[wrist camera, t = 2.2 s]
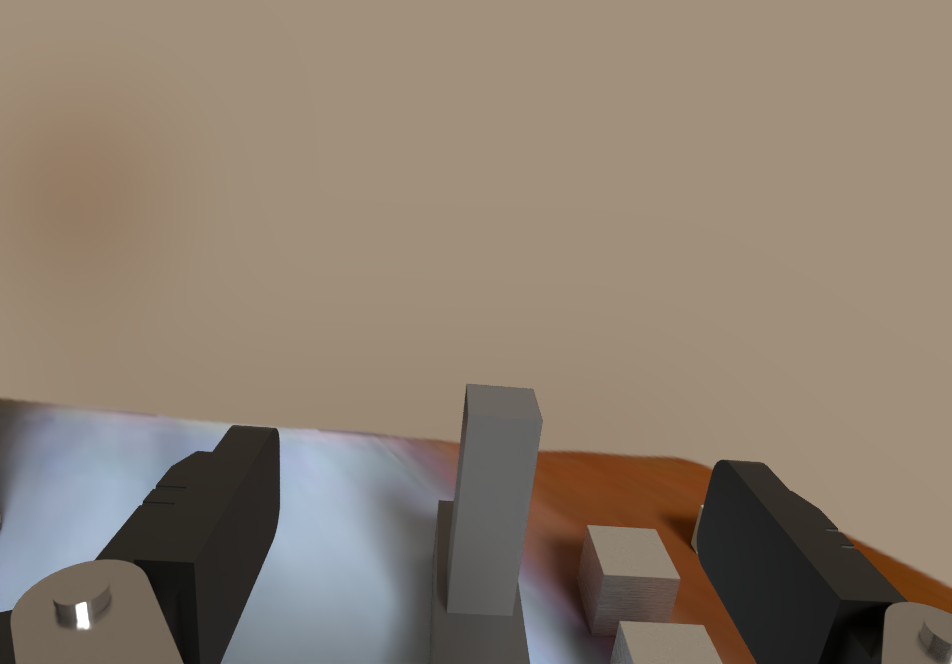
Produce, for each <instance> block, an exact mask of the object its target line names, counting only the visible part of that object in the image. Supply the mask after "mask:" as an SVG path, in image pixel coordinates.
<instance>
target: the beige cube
mask: <svg viewBox="0 0 952 664" xmlns="http://www.w3.org/2000/svg"><path fill="white" fill-rule="evenodd" d="M610 664H722V662H721V660H720V658H719V656H718V654H717V652H716V650H715V648H714V646H713V644H712V642H711V640H710V638H709V636H708V634H707V631H706V629H705V627H704V625H690V624H670V623H651V622H632V621H619V626H618V630H617V634H616V639H615V643H614V647H613V652H612V656H611V660H610Z"/></svg>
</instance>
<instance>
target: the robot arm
mask: <svg viewBox="0 0 952 664" xmlns="http://www.w3.org/2000/svg"><path fill="white" fill-rule="evenodd" d="M279 511H280V441H279V433H278V430H277V429H276V428H268V427H253V426H239V425H233V426H231V428H230V429H229V430H228V431H227V433H226V434H225V435H224V437H223V438H222V440H221V441H220V442H219V444H218V445H217V446H216V448H215V449H214V451H213V452H204V451H196V452H195V453H193V454H191V455H190V456H188V457H186V458H185V459H183V460H181V461H180V462H178V463H176V464H175V465H173V466H171V468H170V469H169V470H168V471H167V472H166V474H165V475H164V476H163V477H162V479H161V480H160V481H159V482H158V483H157V485H156V489H153V490H152V491H151V492H150V493H149V494H148V496H147V497H146V498H145V499H144V501H143V504H142V505H139V507H138V508H137V509H136V510H135V511H134V513H133V514H132V515H131V516H130V518H129V519H128V520H127V521H126V522H125V524H124V525H123V526H122V527H121V529H120V530H119V531H118V532H117V533H116V535H115V536H114V537H113V538H112V539H111V541H110V542H109V543H108V544H107V546H106V547H105V548H104V549H103V550H102V552H101V553H100V554H99V555H98V557H97V558H96V559H95V560H94V561H89V562H84V563H80V564H76V565H73V566H70V567H67V568H64V569H62V570H60V571H58V572H55V573H53V574H51V575H49V576H48V577H46V578H44V579H42V580H41V581H39V582H38V583H37V584H35V585H34V586H32V587H31V588H30V589H29V590H28V591H27V592H26V593H24V595H23V596H22V597H21V598H20V599H19V600H18V602H17V603H16V605H15V607H14V609H13V610H10V611H5V612H0V664H220V663H221V661H222V658H223V656H224V654H225V651H226V649H227V647H228V644H229V642H230V640H231V638H232V635H233V633H234V631H235V628H236V626H237V624H238V621H239V619H240V617H241V614H242V612H243V610H244V607H245V605H246V603H247V600H248V598H249V596H250V593H251V591H252V589H253V586H254V584H255V582H256V579H257V577H258V575H259V572H260V570H261V568H262V565H263V563H264V561H265V558H266V556H267V554H268V551H269V549H270V547H271V544H272V542H273V540H274V537H275V533H276V529H277V525H278V519H279ZM0 527H1V514H0ZM697 552H698V557H699V560H700V563H701V565H702V567H703V569H704V571H705V573H706V575H707V576H708V578H709V580H710V582H711V583H712V585H713V587H714V589H715V590H716V592H717V594H718V596H719V598H720V599H721V601H722V603H723V605H724V606H725V608H726V610H727V612H728V613H729V615H730V617H731V619H732V621H733V622H734V624H735V626H736V628H737V629H738V631H739V633H740V635H741V636H742V638H743V640H744V642H745V643H746V645H747V647H748V649H749V651H750V652H751V654H752V656H753V658H754V659H755V661H756V663H757V664H952V614H950V613H947V612H945V611H943V610H940V609H937V608H934V607H931V606H928V605H924V604H919V603H912V602H908V601H907V600H906V599H905V598H904V597H903V596H902V595H901V594H900V593H899V592H898V591H897V590H896V589H895V588H894V587H893V586H892V585H891V583H890V582H889V581H888V580H887V579H886V578H885V577H884V576H883V575H882V574H881V573H880V572H879V571H878V570H877V569H876V568H875V567H874V566H873V565H872V564H871V563H870V561H869V560H868V559H867V558H866V557H865V556H864V555H863V554H862V553H861V552H860V551H859V550H857V549H854V545H853V544H852V543H851V542H850V541H849V540H848V538H847V537H846V536H845V535H844V534H843V533H840V532H838V528H837V527H836V526H835V525H834V524H833V523H832V522H831V521H830V520H829V519H828V518H827V517H826V515H825V514H824V513H822V511H821V510H820V509H819V508H817V507H815V506H814V505H812V504H811V503H809V502H808V501H806V500H805V499H803V498H802V497H800V496H799V495H797V494H796V493H794V492H792V491H790V490H789V489H788V488H787V487H786V486H785V485H784V484H783V483H782V482H781V480H780V479H779V478H778V477H777V476H776V475H775V474H774V473H773V472H772V471H771V470H770V469H769V467H768V466H766V465H765V464H764V463H761V462H749V461H734V460H720V461H719V462H717V463H716V465H715V466H714V469H713V471H712V475H711V479H710V483H709V487H708V491H707V495H706V499H705V503H704V506H703V510H702V514H701V518H700V522H699V526H698V531H697Z"/></svg>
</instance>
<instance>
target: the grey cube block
mask: <svg viewBox="0 0 952 664" xmlns="http://www.w3.org/2000/svg"><path fill="white" fill-rule="evenodd" d="M576 581H577V585H578V588H579V592H580V595H581V599H582V603H583V606H584V610H585V613H586V617H587V621H588V624H589V628H590V631H591V635H603V636H616V634H617V630H618V626H619V621H632V622H651V623H669V621H670V617H671V613H672V609H673V606H674V602H675V598H676V594H677V590H678V586H679V583H680V577H679V575H678V573H677V571H676V569H675V567H674V565H673V563H672V561H671V559H670V557H669V555H668V553H667V551H666V549H665V547H664V545H663V543H662V541H661V539H660V537H659V535H658V533H657V531H656V529H642V528H626V527H609V526H593V525H587V529H586V534H585V539H584V544H583V550H582V555H581V560H580V565H579V570H578V575H577V580H576Z"/></svg>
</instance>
